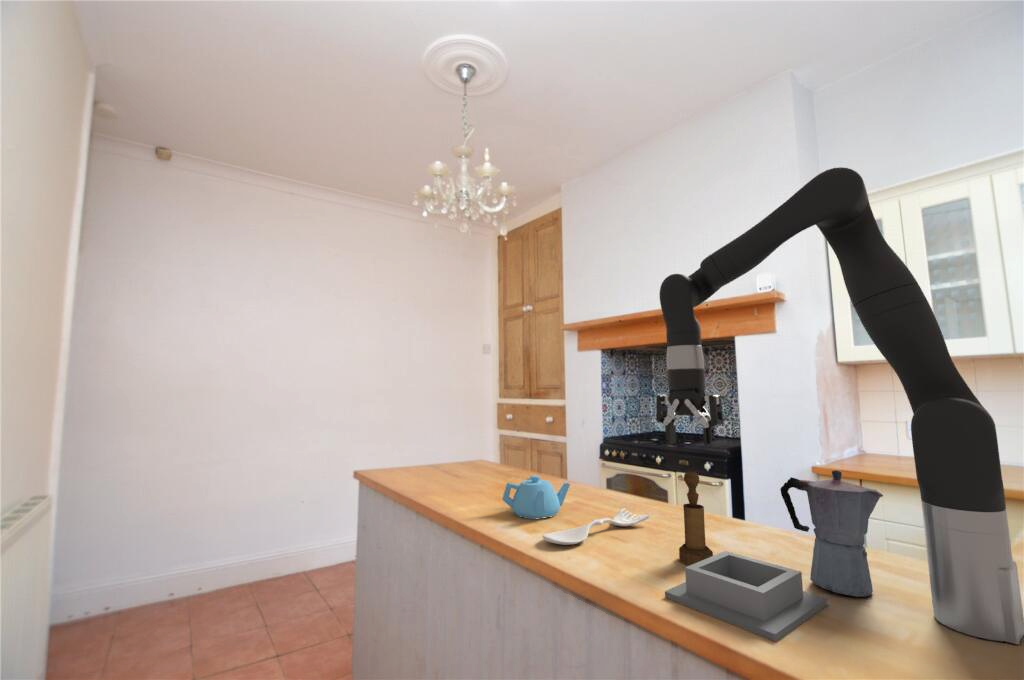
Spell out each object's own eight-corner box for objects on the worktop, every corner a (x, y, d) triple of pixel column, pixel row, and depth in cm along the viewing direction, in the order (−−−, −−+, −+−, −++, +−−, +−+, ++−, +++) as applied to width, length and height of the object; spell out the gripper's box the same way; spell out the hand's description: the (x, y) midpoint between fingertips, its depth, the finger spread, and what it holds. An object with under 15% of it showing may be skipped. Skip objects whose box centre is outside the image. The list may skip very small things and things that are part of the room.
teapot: (530, 505, 145) (529, 469, 146) (572, 512, 136) (571, 474, 137) (499, 515, 133) (498, 477, 135) (542, 524, 124) (541, 482, 125)
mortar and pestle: (716, 568, 91) (711, 474, 93) (682, 566, 93) (677, 474, 95) (709, 556, 98) (704, 469, 100) (677, 555, 99) (672, 468, 101)
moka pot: (900, 606, 73) (884, 475, 76) (787, 587, 81) (776, 469, 84) (890, 587, 81) (876, 469, 84) (788, 571, 89) (779, 464, 92)
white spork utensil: (651, 526, 121) (651, 513, 121) (560, 554, 102) (560, 538, 102) (624, 519, 128) (623, 506, 128) (534, 544, 109) (534, 528, 109)
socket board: (827, 604, 75) (824, 572, 76) (775, 641, 65) (773, 603, 65) (721, 571, 90) (719, 544, 90) (665, 597, 79) (663, 566, 80)
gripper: (726, 366, 96) (731, 446, 94) (667, 369, 107) (670, 440, 106) (706, 365, 92) (711, 449, 90) (646, 368, 103) (650, 443, 101)
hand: (689, 444), depth 98 cm, fingers open, 8 cm apart
